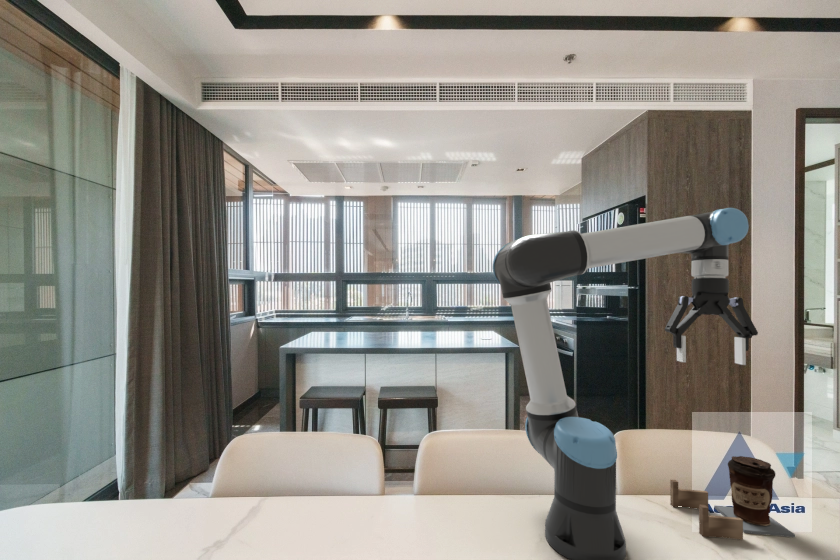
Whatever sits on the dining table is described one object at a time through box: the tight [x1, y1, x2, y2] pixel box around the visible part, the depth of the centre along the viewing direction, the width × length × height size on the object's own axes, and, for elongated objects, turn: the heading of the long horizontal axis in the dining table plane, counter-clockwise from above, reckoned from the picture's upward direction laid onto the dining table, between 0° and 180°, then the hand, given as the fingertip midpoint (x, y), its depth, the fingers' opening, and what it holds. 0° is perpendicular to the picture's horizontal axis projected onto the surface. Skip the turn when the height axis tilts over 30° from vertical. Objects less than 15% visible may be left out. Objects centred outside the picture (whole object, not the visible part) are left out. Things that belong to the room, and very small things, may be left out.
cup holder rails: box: [669, 479, 744, 540], centre depth 88 cm, size 8×13×6 cm, turn 173°
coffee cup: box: [727, 455, 776, 526], centre depth 88 cm, size 9×8×13 cm
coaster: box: [713, 504, 796, 538], centre depth 88 cm, size 10×10×1 cm
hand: (710, 362), depth 96 cm, fingers open, 13 cm apart
